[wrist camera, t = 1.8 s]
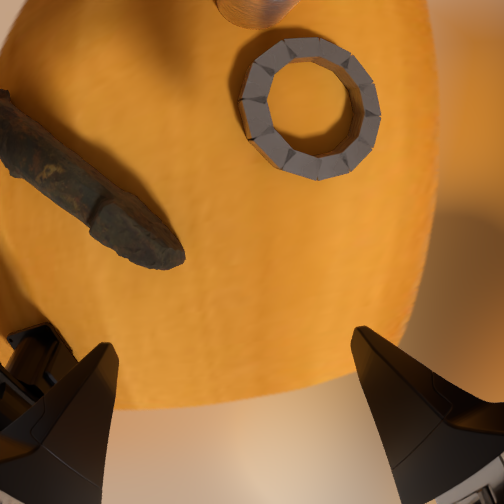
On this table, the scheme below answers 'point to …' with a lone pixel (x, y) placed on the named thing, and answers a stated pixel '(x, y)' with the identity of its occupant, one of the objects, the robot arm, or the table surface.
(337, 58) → the ring
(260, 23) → the silver metal cylinder
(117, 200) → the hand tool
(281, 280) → the table surface
